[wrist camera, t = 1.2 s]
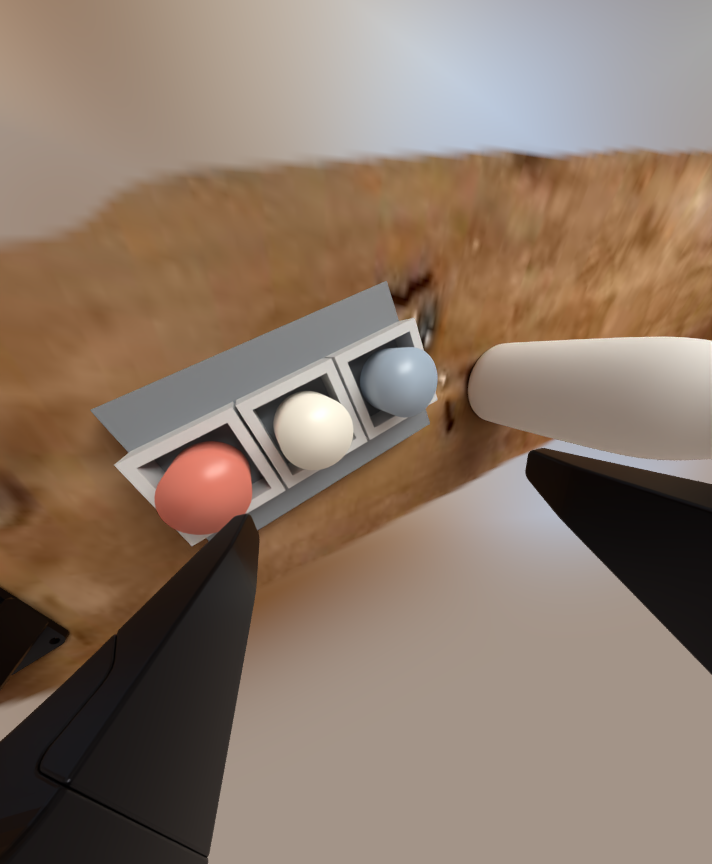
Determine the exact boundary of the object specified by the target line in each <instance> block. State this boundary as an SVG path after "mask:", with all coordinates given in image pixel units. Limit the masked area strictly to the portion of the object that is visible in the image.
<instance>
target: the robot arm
mask: <svg viewBox="0 0 712 864" xmlns="http://www.w3.org/2000/svg"><path fill="white" fill-rule="evenodd" d="M526 476H527V478H528V480H529V481H530V482H531V484H532V485H533V486H534V487H535V489H536V490H537V491H538V492H539V494H540V495H541V496H542V497H543V498H544V500H545V501H546V502H547V503H548V504H549V506H550V507H551V508H552V510H553V511H554V512H555V513H556V514H557V515H558V517H559V518H560V519H561V520H562V521H563V522H564V523H565V524H566V525H567V526H568V527H569V528H570V529H571V530H572V531H573V532H574V534H575V535H576V536H577V537H578V538H579V539H580V540H582V542H583V543H584V544H585V545H586V546H587V547H588V548H589V549H590V550H591V551H592V552H593V553H594V554H595V555H596V556H597V557H598V558H599V559H600V560H601V561H602V562H603V563H604V564H605V565H606V566H607V567H608V569H609V570H610V571H611V572H613V574H614V575H615V576H617V578H618V579H619V580H620V581H621V582H622V583H623V584H624V585H625V586H626V587H627V588H628V589H629V590H630V591H631V592H632V593H633V594H634V595H635V596H636V597H637V598H638V599H639V600H640V601H641V602H642V603H643V605H644V606H645V607H646V608H647V609H648V610H649V611H650V612H651V613H652V614H653V615H654V616H655V617H656V618H657V619H658V620H659V621H660V622H661V623H662V624H663V625H664V626H665V627H666V628H667V629H668V630H669V631H670V632H671V633H672V634H673V635H674V636H675V637H676V638H677V640H679V642H680V643H681V644H682V645H683V646H685V648H686V649H687V650H688V651H689V652H690V653H691V654H692V655H693V656H694V657H695V658H696V659H697V660H698V661H699V662H700V663H701V664H702V665H703V666H704V667H705V668H706V669H707V670H708V671H709V672H710V673H711V674H712V484H708V483H704V482H699V481H694V480H690V479H685V478H680V477H676V476H671V475H667V474H662V473H657V472H652V471H648V470H643V469H638V468H634V467H629V466H625V465H620V464H615V463H611V462H606V461H602V460H596V459H592V458H588V457H583V456H578V455H573V454H569V453H564V452H559V451H555V450H551V449H546V448H540V449H536V450H532V451H530V452H529V454H528V458H527V465H526ZM258 554H259V533H258V531H257V528H256V526H255V524H254V521H253V519H252V517H251V515H250V514H248V513H245V514H241V515H237V516H234V517H233V518H232V519H231V520H230V521H229V522H228V523H227V524H226V525H225V526H224V527H223V528H222V529H221V530H220V531H219V532H218V533H217V534H216V535H215V536H214V537H213V538H212V539H211V540H210V541H209V542H208V543H207V544H206V545H205V546H204V547H203V548H202V549H200V550H199V551H198V552H197V553H196V554H195V555H194V556H193V557H192V558H191V559H190V560H189V561H188V562H187V563H186V564H185V565H184V566H183V567H182V568H181V569H180V570H179V571H178V572H177V573H176V574H175V575H174V576H173V577H172V578H171V579H170V580H169V581H168V582H167V583H166V584H165V585H164V586H163V587H162V588H161V589H160V590H159V591H158V592H157V593H156V594H155V595H154V596H153V597H152V598H151V599H150V600H149V601H148V602H147V603H146V604H145V605H144V606H143V607H142V608H141V609H140V610H139V611H137V612H136V613H135V614H134V615H133V616H132V617H131V618H130V619H129V620H128V621H127V622H126V623H125V624H124V625H123V626H122V627H121V628H120V629H119V630H118V632H117V634H115V635H113V636H112V637H111V638H110V639H109V640H108V641H107V642H106V643H105V644H104V645H103V646H102V647H101V648H100V649H99V650H98V651H97V652H96V653H95V654H94V655H93V656H92V657H91V658H90V659H88V660H87V661H86V662H85V663H84V664H83V665H82V666H81V667H80V668H79V669H78V670H77V671H76V672H75V673H74V674H73V675H72V676H71V677H70V678H69V679H68V680H67V681H66V682H65V683H64V684H62V685H61V686H60V687H59V688H58V689H57V690H56V691H55V692H54V693H53V694H52V695H51V696H49V697H48V698H47V699H46V700H45V701H44V702H43V703H42V704H41V705H40V706H39V707H38V708H36V709H35V710H34V711H33V712H32V713H31V714H30V715H29V716H28V717H27V718H26V719H24V720H23V721H22V722H21V723H20V724H19V725H18V726H17V727H16V728H15V729H14V730H13V731H11V732H10V733H9V734H8V735H7V736H6V737H5V738H4V739H2V740H1V741H0V864H208V858H207V857H208V855H209V852H210V847H211V841H212V836H213V830H214V824H215V819H216V813H217V808H218V802H219V796H220V790H221V785H222V779H223V774H224V768H225V762H226V757H227V751H228V746H229V740H230V734H231V729H232V723H233V718H234V712H235V706H236V701H237V695H238V689H239V684H240V679H241V673H242V667H243V662H244V656H245V651H246V645H247V639H248V634H249V628H250V622H251V616H252V611H253V606H254V600H255V593H256V583H257V569H258ZM68 635H69V632H68V630H66V629H65V628H63V627H62V626H60V625H58V624H57V623H55V622H54V621H52V620H51V619H49V618H47V617H46V616H44V615H43V614H41V613H40V612H38V611H37V610H35V609H33V608H32V607H30V606H29V605H27V604H26V603H24V602H22V601H21V600H19V599H18V598H16V597H15V596H13V595H11V594H10V593H8V592H7V591H5V590H4V589H2V588H0V690H1V689H2V687H3V686H4V685H5V683H6V682H7V681H8V679H9V678H10V676H11V675H13V674H15V673H16V672H18V671H20V670H21V669H23V668H24V667H26V666H28V665H29V664H31V663H33V662H34V661H36V660H38V659H39V658H41V657H42V656H44V655H46V654H47V653H49V652H51V651H52V650H54V649H55V648H57V647H59V646H60V645H62V644H63V643H64V642H65V640H66V639H67V637H68Z"/></svg>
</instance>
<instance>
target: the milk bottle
mask: <svg viewBox="0 0 712 864" xmlns="http://www.w3.org/2000/svg"><path fill="white" fill-rule="evenodd" d="M468 398H469V402H470V405H471V407H472V409H473V411H474V412H475V413H476V414H477V415H478V416H479V417H480V418H482V419H484V420H486V421H490V422H493V423H496V424H500V425H504V426H508V427H511V428H515V429H519V430H523V431H527V432H530V433H534V434H538V435H542V436H546V437H550V438H554V439H558V440H561V441H565V442H570V443H573V444H577V445H582V446H585V447H589V448H593V449H598V450H602V451H607V452H611V453H616V454H620V455H625V456H631V457H637V458H645V459H656V460H701V459H712V341H709V340H703V339H694V338H682V337H625V338H602V339H578V340H558V341H538V342H519V343H506V344H499V345H496V346H494V347H492V348H491V349H489V350H487V351H486V352H485V353H484V354H483V355H482V356H481V357H480V358H479V359H478V361H477V362H476V364H475V366H474V367H473V370H472V372H471V375H470V379H469V383H468Z"/></svg>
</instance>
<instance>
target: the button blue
mask: <svg viewBox="0 0 712 864" xmlns="http://www.w3.org/2000/svg"><path fill="white" fill-rule="evenodd" d="M360 387H361V391H362V394H363V396H364V398H365V399H366V401H367V402H368V403H369V404H370V405H371V406H373V407H375V408H377V409H379V410H382V411H385V412H387V413H390V414H392V415H395V416H398V417H403V418H406V417H412V416H415V415H417V414H419V413H420V412H422V411H423V410H424V409H425V408H426V407H427V406H428V405H429V404H430V402H431V400H432V399H433V397H434V394H435V391H436V387H437V370H436V367H435V364H434V362H433V360H432V358H431V357H430V356H429V355H428V354H427V353H426V352H425V351H423V350H421V349H419V348H415V347H404V348H387V349H382V350H379V351H377V352H375V353H374V354H372V355H371V356H370V357H369V358H368V360H367V361H366V362H365V364H364V366H363V369H362V372H361V376H360Z"/></svg>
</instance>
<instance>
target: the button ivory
mask: <svg viewBox="0 0 712 864" xmlns="http://www.w3.org/2000/svg"><path fill="white" fill-rule="evenodd" d="M273 428H274V433H275V436H276V438H277V441H278V443H279V445H280V448H281V450H282V452H283V454H284V455H285V457H286V458H287V459H288V460H289V461H290V462H291V463H292V464H294V465H295V466H297V467H299V468H302V469H306V470H321V469H325V468H328V467H330V466H332V465H334V464H335V463H337V462H338V461H339V460H340V459H342V457H343V456H344V455H345V454H346V453H347V451H348V449H349V448H350V445H351V443H352V439H353V423H352V419H351V417H350V415H349V413H348V411H347V410H346V409H345V408H344V406H343V405H341V404H340V403H339V402H337V401H335V400H333V399H331V398H329V397H327V396H325V395H323V394H320V393H318V392H314V391H300V392H297V393H294V394H292V395H290V396H288V397H287V398H286V399H285V400H284V401H283V402H282V403H281V404H280V405H279V407H278V408H277V410H276V413H275V415H274V420H273Z"/></svg>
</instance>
